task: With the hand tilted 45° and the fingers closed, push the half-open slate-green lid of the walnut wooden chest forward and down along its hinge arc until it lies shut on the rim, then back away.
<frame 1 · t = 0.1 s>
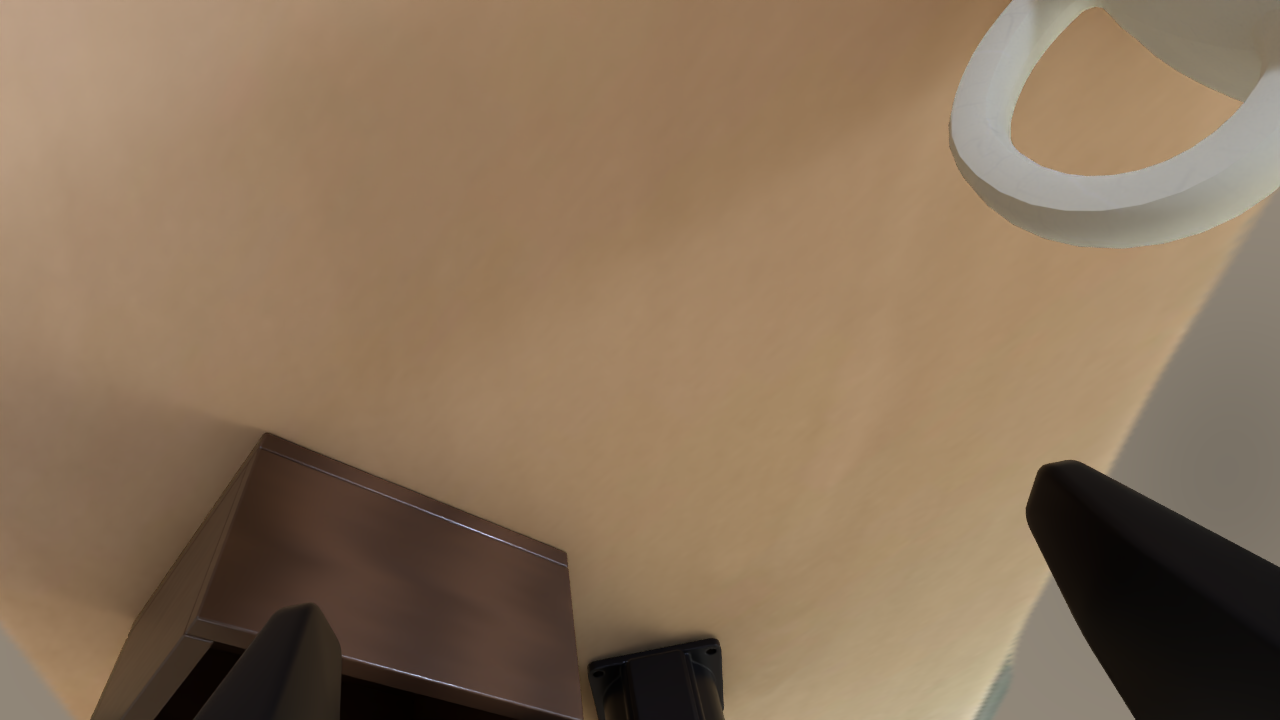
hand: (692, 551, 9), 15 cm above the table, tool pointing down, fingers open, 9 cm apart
chest: (356, 585, 30), on the table
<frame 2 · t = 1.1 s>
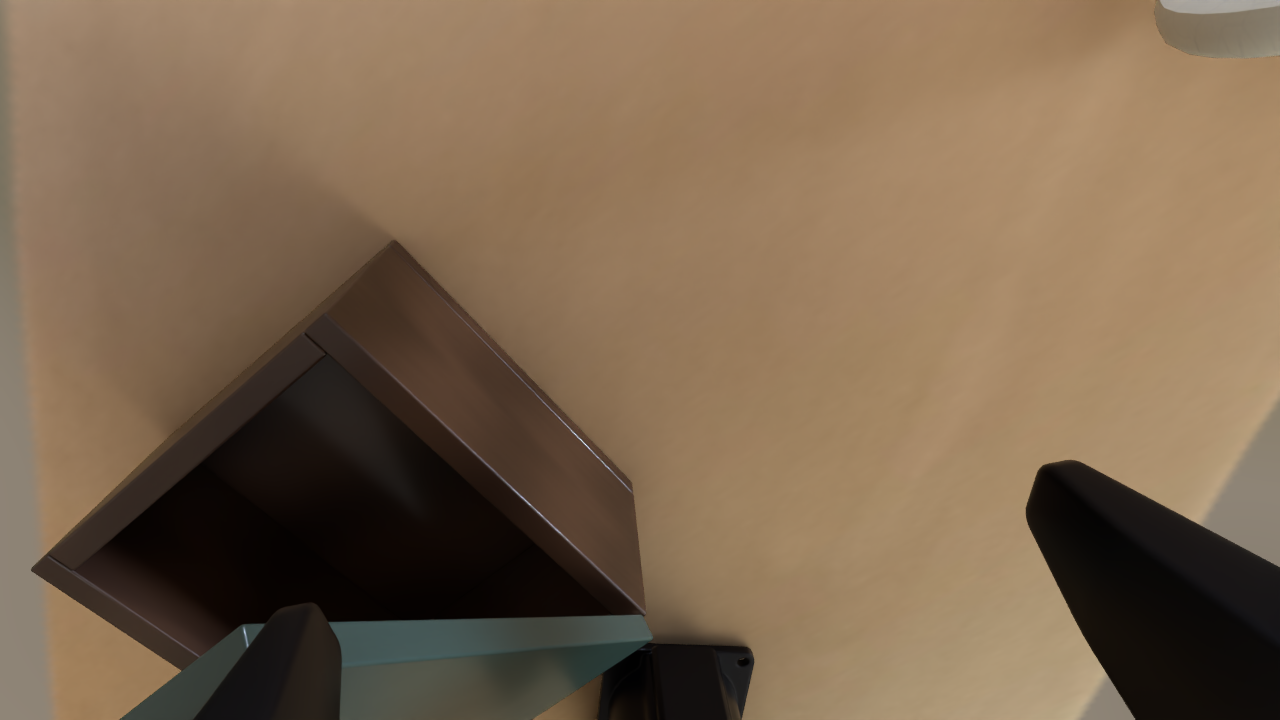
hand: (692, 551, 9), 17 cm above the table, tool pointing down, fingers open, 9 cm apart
chest: (408, 461, 28), on the table
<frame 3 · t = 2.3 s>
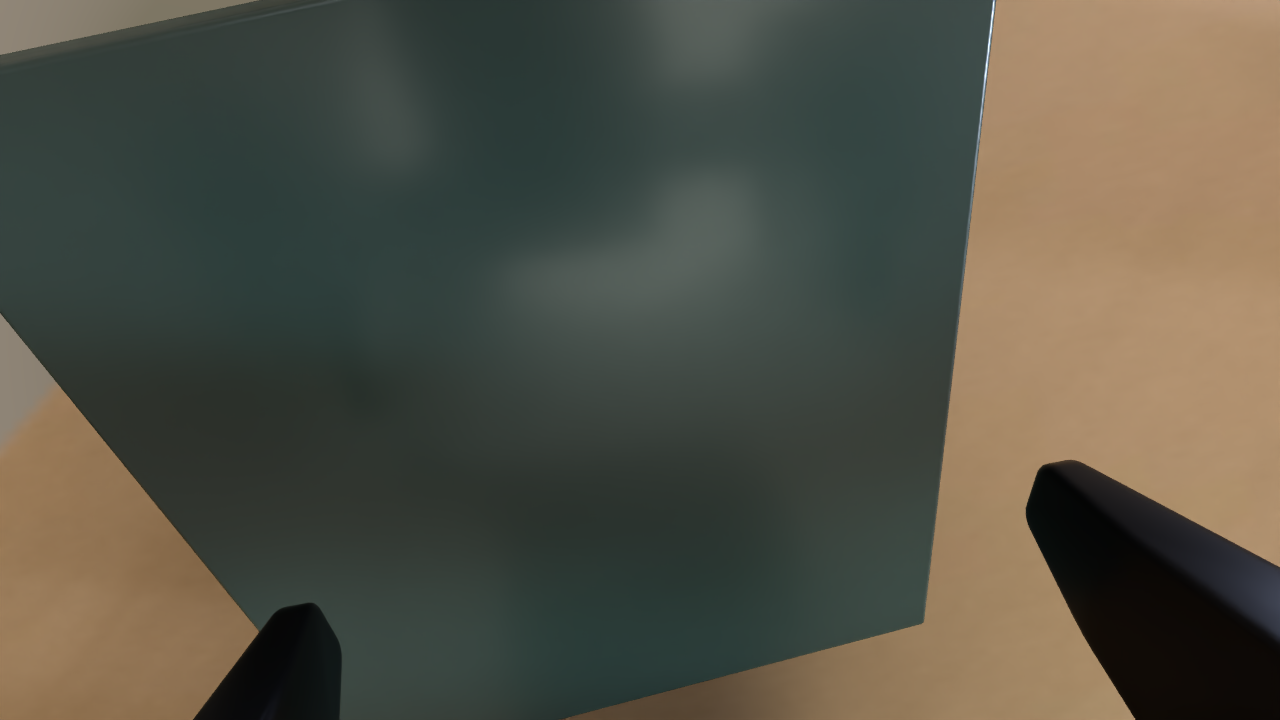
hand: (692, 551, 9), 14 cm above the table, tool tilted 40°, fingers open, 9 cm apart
lid: (583, 446, 11), point 12 cm above the table, hinge at 40.0°
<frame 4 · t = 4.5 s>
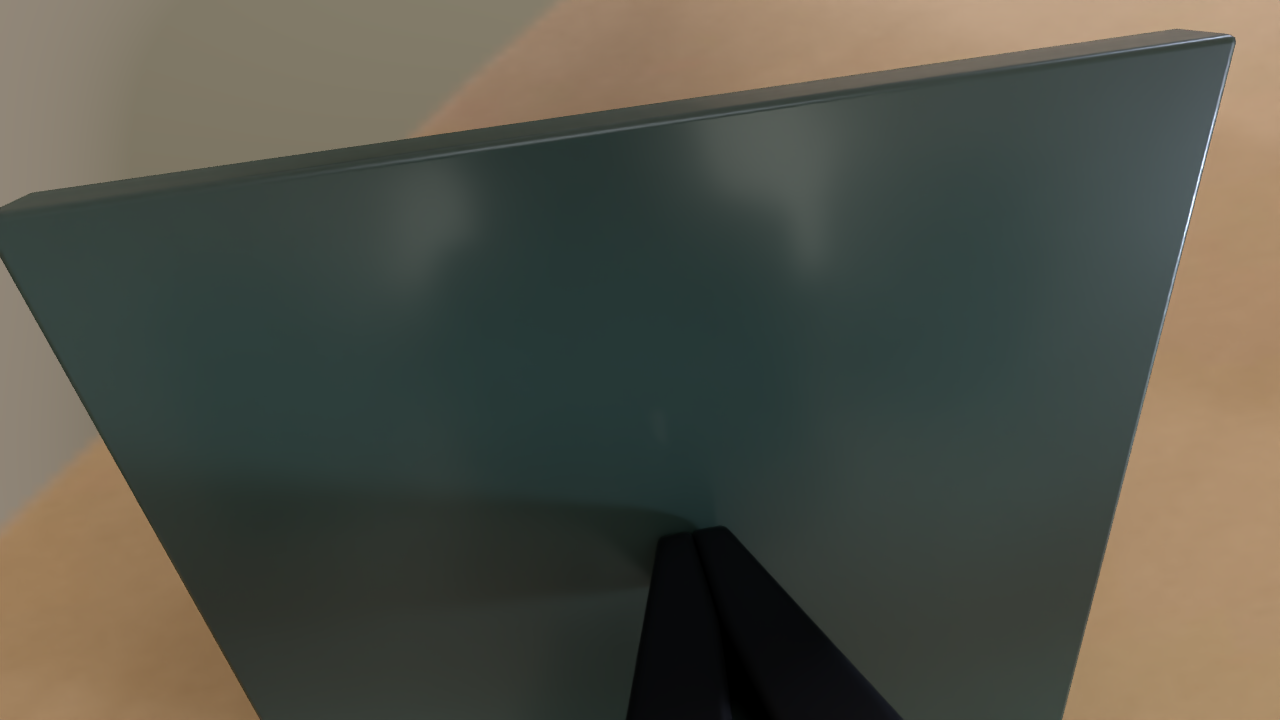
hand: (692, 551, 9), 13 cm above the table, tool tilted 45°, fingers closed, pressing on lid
lid: (694, 610, 10), point 12 cm above the table, hinge at 37.0°, touching gripper
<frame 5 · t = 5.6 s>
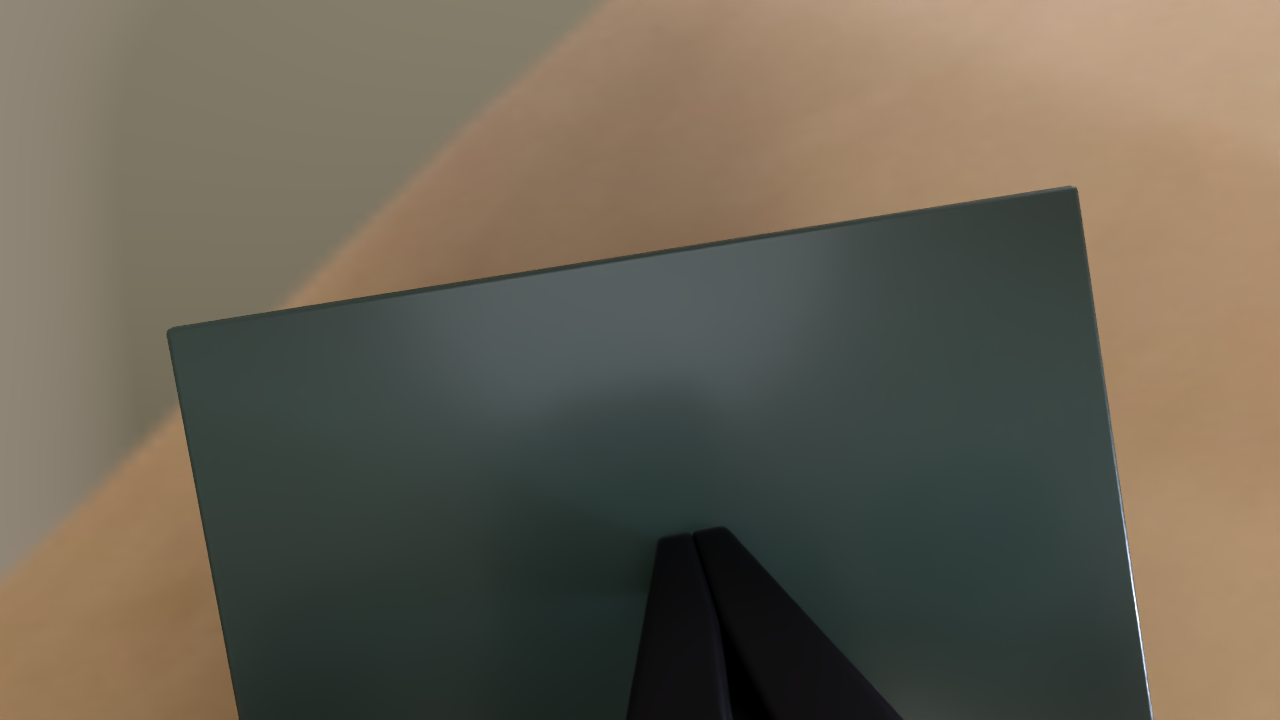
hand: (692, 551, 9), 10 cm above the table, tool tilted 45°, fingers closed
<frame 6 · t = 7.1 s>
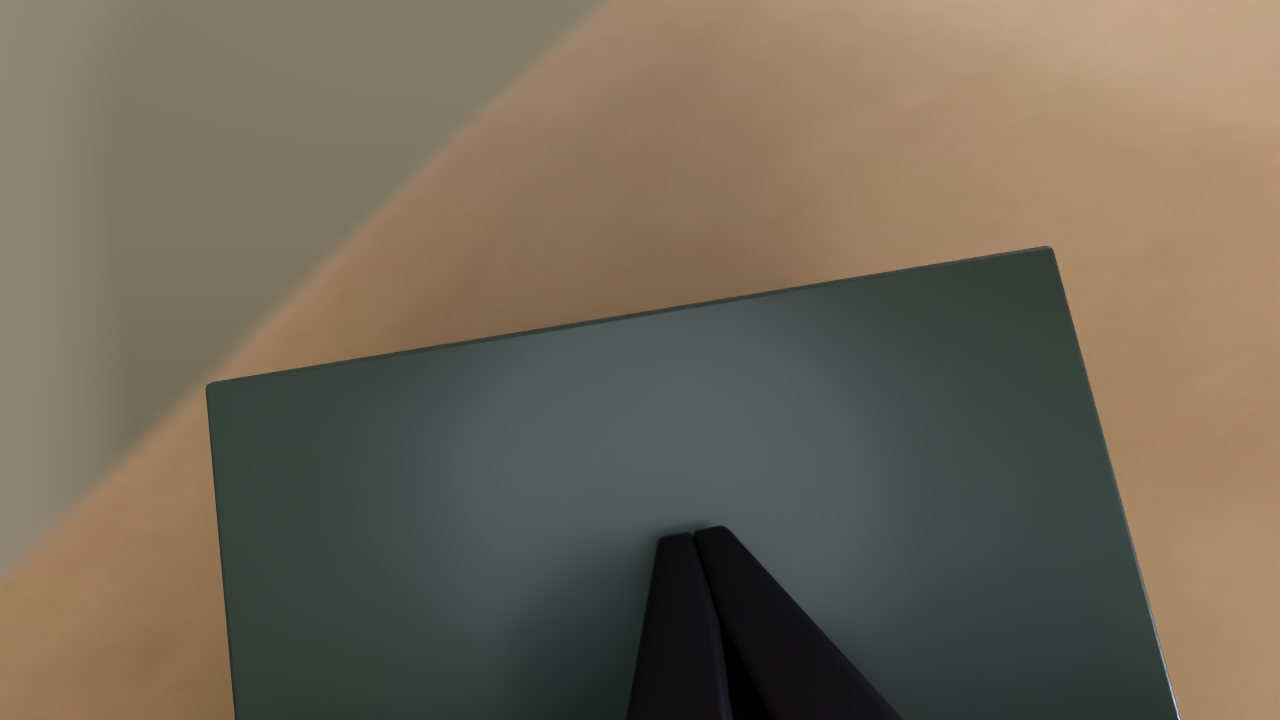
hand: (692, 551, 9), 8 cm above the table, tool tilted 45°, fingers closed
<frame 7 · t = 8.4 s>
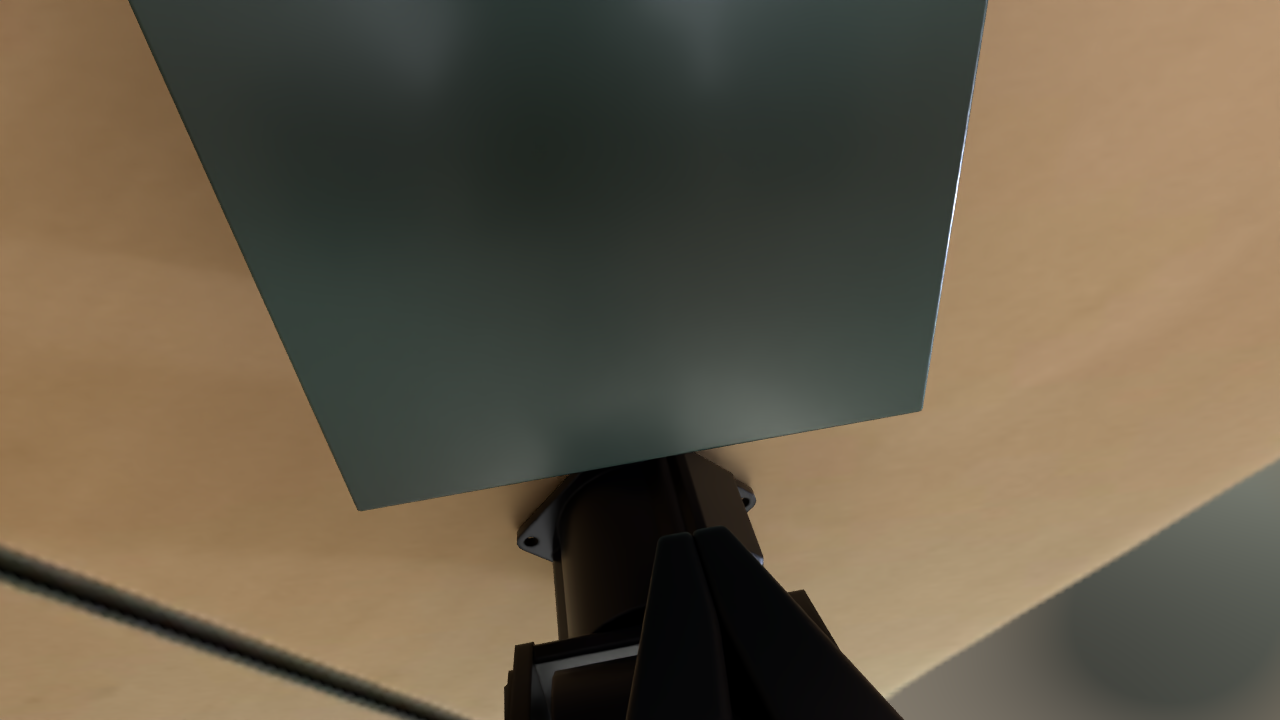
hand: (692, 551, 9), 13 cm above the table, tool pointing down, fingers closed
lid: (606, 125, 11), point 8 cm above the table, hinge at -0.2°, touching chest
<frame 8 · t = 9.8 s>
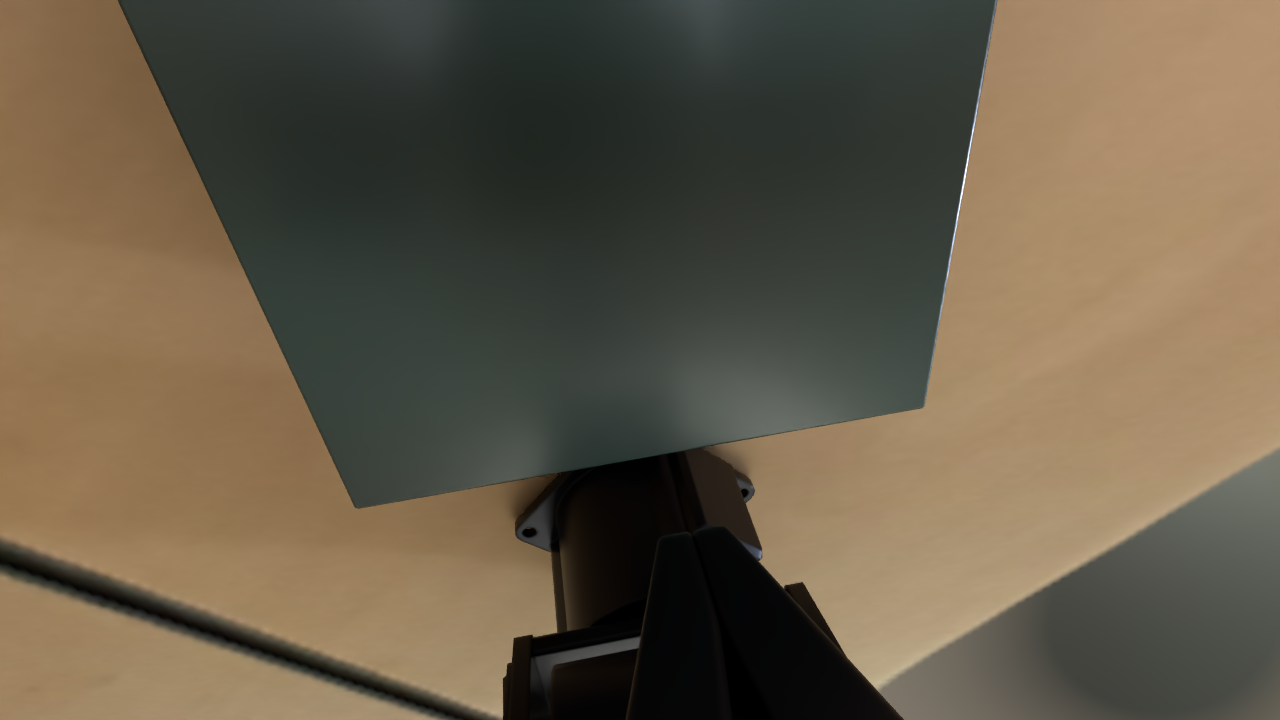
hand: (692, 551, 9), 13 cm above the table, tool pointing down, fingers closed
lid: (606, 120, 11), point 8 cm above the table, hinge at -0.2°, touching chest
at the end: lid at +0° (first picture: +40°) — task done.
